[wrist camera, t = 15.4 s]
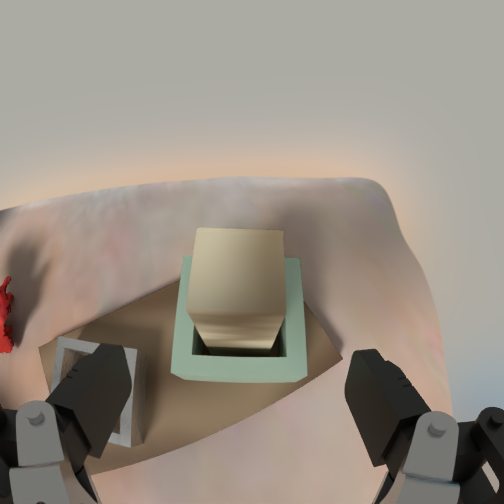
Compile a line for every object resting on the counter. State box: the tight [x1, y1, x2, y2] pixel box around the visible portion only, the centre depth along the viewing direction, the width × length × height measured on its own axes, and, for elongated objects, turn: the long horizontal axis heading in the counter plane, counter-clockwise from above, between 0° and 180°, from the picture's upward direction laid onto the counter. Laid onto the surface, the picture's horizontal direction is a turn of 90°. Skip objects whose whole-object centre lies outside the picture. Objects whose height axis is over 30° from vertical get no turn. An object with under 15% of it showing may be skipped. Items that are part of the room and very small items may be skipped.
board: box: [38, 281, 343, 475], centre depth 19 cm, size 12×23×2 cm, turn 120°
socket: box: [171, 256, 307, 383], centre depth 19 cm, size 8×8×4 cm
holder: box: [51, 336, 149, 448], centre depth 16 cm, size 7×7×2 cm
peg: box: [186, 228, 286, 357], centre depth 16 cm, size 4×4×10 cm
